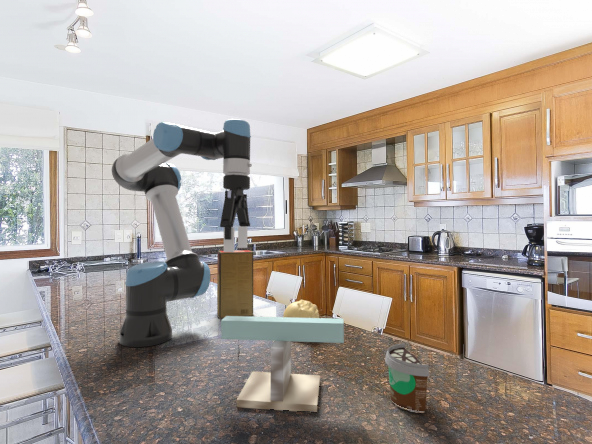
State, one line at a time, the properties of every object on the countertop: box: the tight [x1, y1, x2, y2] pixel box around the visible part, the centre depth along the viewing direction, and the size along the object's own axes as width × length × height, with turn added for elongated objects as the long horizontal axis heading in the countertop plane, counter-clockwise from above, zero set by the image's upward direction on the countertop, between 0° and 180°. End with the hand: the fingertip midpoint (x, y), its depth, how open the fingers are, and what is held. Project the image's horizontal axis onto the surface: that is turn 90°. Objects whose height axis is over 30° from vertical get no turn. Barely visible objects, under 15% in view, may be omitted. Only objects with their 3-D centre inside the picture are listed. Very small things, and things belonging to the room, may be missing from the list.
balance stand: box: [236, 341, 321, 413], centre depth 75 cm, size 16×13×12 cm
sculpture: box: [282, 299, 320, 318], centre depth 116 cm, size 12×12×11 cm
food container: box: [384, 343, 430, 412], centre depth 72 cm, size 12×6×10 cm, turn 5°
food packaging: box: [216, 249, 254, 320], centre depth 137 cm, size 13×9×25 cm
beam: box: [220, 316, 345, 344], centre depth 75 cm, size 26×4×4 cm, turn 83°
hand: (236, 249), depth 100 cm, fingers open, 13 cm apart
